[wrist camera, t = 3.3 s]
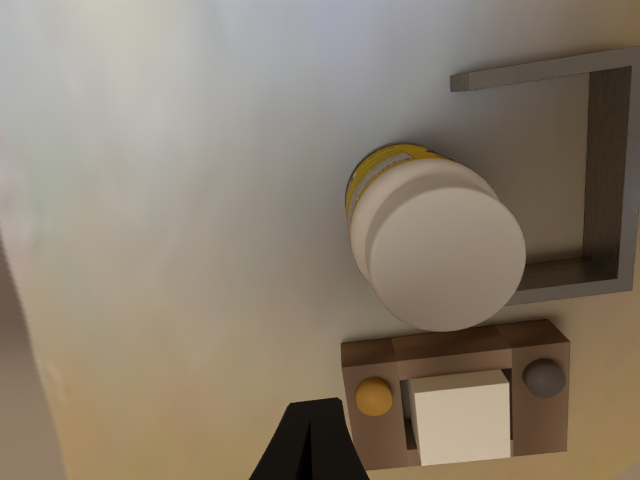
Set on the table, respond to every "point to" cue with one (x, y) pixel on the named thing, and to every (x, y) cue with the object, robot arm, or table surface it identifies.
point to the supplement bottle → (432, 238)
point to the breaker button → (460, 417)
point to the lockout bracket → (590, 173)
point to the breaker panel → (455, 358)
